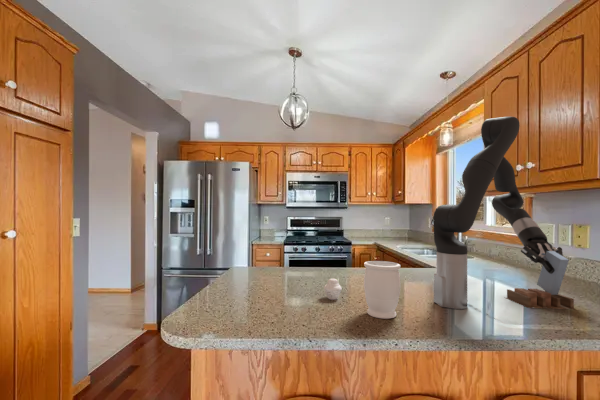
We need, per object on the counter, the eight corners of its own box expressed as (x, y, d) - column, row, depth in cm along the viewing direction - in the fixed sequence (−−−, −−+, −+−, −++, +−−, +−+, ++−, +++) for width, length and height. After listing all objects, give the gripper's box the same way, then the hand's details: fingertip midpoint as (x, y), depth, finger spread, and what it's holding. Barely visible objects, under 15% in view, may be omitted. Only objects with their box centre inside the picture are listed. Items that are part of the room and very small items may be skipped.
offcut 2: (541, 305, 97) (541, 293, 97) (527, 300, 102) (527, 288, 103) (551, 305, 96) (551, 293, 97) (536, 300, 102) (536, 288, 103)
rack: (527, 310, 94) (527, 298, 94) (504, 300, 105) (504, 289, 105) (575, 312, 94) (575, 299, 94) (546, 301, 105) (546, 290, 105)
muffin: (320, 297, 103) (320, 277, 103) (332, 294, 107) (332, 275, 108) (333, 302, 99) (333, 280, 99) (345, 298, 103) (345, 278, 103)
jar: (380, 323, 81) (380, 267, 81) (356, 311, 90) (357, 261, 90) (408, 317, 86) (408, 265, 86) (382, 306, 95) (383, 259, 95)
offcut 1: (527, 305, 97) (527, 292, 97) (514, 299, 103) (514, 288, 103) (536, 305, 97) (536, 293, 97) (523, 300, 103) (523, 288, 103)
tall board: (550, 294, 99) (561, 259, 95) (536, 284, 104) (546, 251, 101) (557, 294, 99) (569, 259, 95) (544, 284, 104) (554, 251, 101)
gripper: (515, 225, 108) (542, 265, 95) (553, 226, 108) (585, 266, 95) (505, 238, 113) (529, 278, 100) (541, 239, 113) (571, 279, 100)
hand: (557, 272), depth 98 cm, fingers closed on tall board, 2 cm apart
